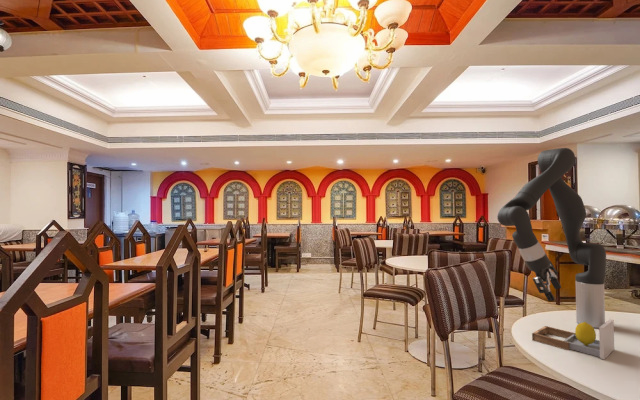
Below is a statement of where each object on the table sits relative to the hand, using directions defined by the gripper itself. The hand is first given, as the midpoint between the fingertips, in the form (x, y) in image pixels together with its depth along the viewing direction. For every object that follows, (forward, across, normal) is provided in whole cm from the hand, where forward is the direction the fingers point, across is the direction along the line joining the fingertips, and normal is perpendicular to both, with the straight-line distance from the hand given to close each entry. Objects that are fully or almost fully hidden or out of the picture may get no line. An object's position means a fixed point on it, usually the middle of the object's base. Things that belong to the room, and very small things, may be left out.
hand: (555, 294), depth 125 cm
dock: (+14, -8, +3) cm, 16 cm away
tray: (+16, -9, -5) cm, 19 cm away
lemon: (+15, -9, -5) cm, 18 cm away
